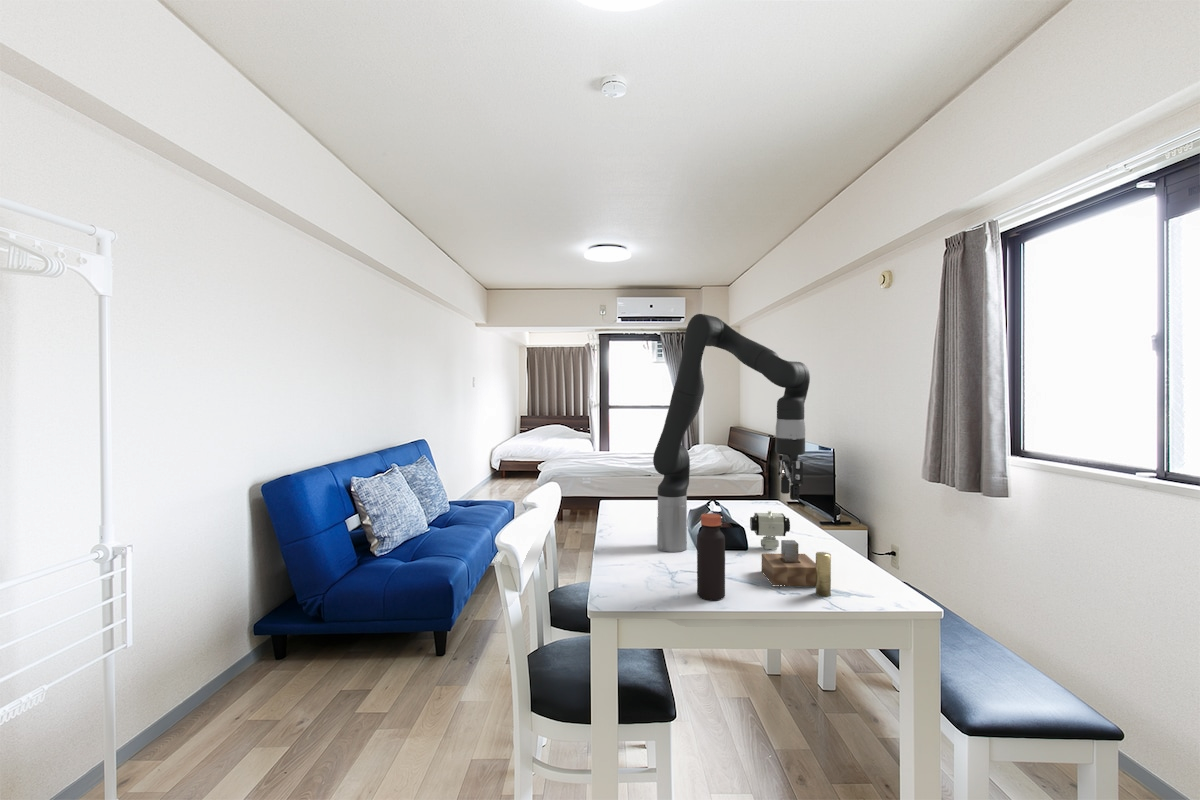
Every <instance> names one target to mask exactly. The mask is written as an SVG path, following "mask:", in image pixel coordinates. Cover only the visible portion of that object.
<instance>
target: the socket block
mask: <svg viewBox="0 0 1200 800" xmlns="http://www.w3.org/2000/svg"><path fill="white" fill-rule="evenodd" d="M761 573H762V574H763V573H764V574H765V575H766V576H765V575H764V574H763V575H764V576H765V578H766V577H767V578H768V579H769V580H768V579H767V578H766V579H767V580H768V582H769V581H770V582H771V583H772V584H771V583H770V582H769V583H770V584H771V586H772V585H779V586H778V587H780V585H782V586H784V585H785V586H816V561H814V560H812V559H811V558H810V557H809V555H807V554H806V553H798V563H783V562H782V561H781V553H761Z"/></svg>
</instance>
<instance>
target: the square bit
mask: <svg viewBox="0 0 1200 800" xmlns="http://www.w3.org/2000/svg"><path fill="white" fill-rule="evenodd" d="M780 541H781V545H780V547H781V548H780V552H781V553H780V554H781V561H782V562H783V563H798V554H799V542H797V541H796V540H794V539H781V540H780Z"/></svg>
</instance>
